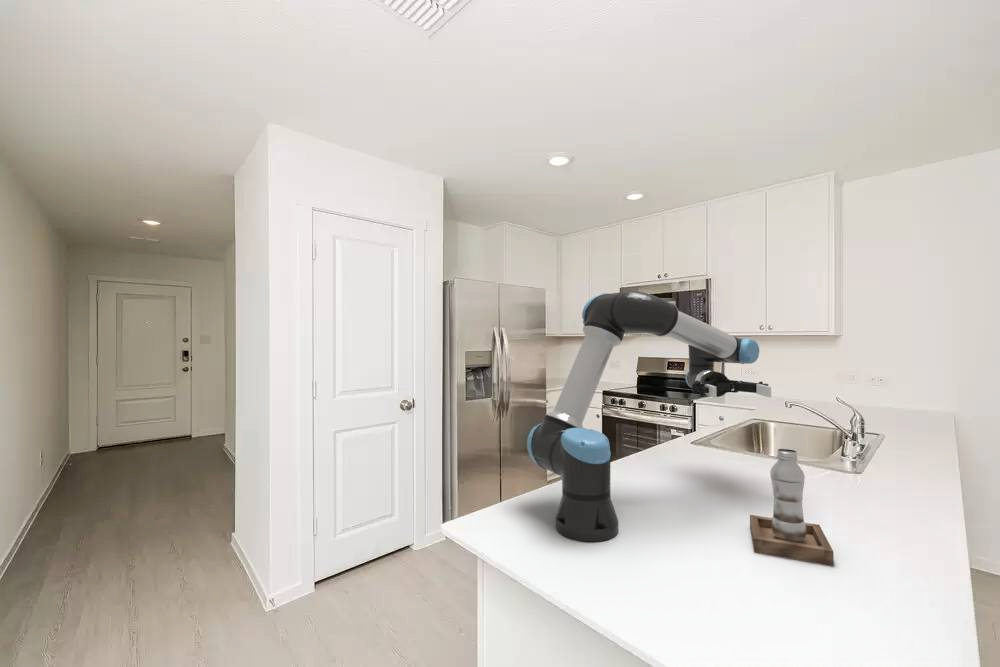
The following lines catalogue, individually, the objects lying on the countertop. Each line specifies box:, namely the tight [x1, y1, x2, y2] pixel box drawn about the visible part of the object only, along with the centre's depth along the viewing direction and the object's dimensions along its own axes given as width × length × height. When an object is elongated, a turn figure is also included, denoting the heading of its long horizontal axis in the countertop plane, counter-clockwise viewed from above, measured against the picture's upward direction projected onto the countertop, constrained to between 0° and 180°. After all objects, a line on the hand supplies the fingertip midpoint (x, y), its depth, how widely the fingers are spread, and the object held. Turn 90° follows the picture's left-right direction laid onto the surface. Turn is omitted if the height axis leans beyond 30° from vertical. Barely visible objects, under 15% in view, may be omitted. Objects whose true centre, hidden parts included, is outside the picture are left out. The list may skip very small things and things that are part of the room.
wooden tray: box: [749, 514, 835, 567], centre depth 100 cm, size 14×14×3 cm
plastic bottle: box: [769, 448, 807, 543], centre depth 100 cm, size 6×7×20 cm
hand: (742, 392), depth 117 cm, fingers open, 13 cm apart
